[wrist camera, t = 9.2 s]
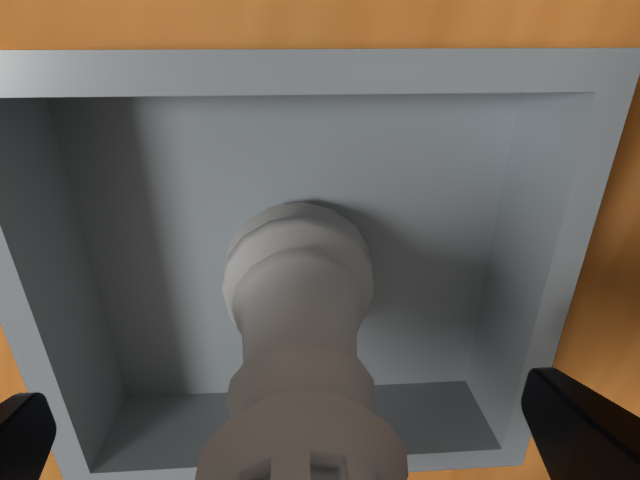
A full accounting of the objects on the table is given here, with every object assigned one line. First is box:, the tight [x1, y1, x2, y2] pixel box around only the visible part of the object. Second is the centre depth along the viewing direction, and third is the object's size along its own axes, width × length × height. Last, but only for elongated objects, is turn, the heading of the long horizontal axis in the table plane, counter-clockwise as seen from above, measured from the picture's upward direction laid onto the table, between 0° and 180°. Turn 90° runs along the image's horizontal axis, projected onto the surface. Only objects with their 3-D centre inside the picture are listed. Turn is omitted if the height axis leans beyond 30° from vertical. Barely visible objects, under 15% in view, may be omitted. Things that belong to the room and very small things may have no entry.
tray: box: [0, 48, 640, 480], centre depth 11 cm, size 14×12×4 cm
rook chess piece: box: [195, 202, 408, 480], centre depth 9 cm, size 4×4×8 cm
